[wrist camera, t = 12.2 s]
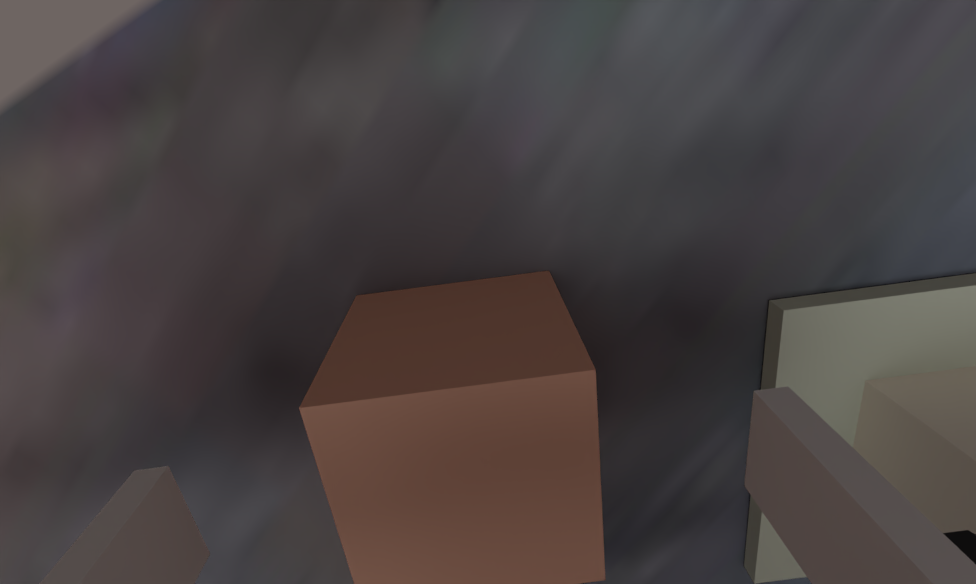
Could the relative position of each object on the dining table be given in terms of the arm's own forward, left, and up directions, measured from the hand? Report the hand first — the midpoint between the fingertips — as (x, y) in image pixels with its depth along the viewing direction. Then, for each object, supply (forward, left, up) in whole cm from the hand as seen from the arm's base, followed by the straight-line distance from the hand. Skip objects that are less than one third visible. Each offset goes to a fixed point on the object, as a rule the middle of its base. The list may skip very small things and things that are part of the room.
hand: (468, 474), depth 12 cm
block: (0, 0, -6) cm, 6 cm away
